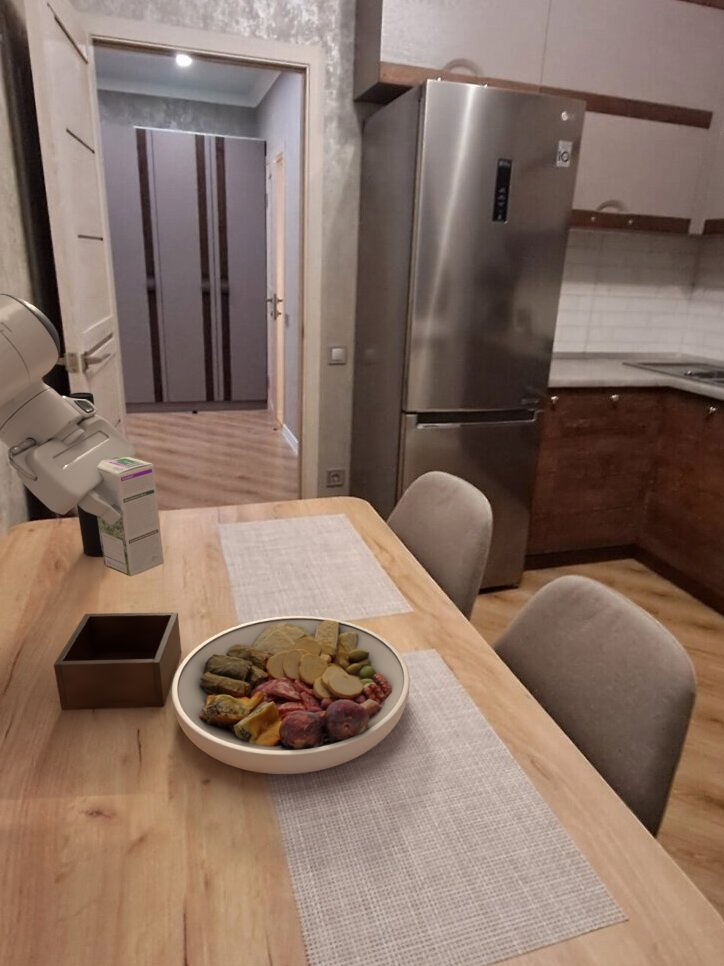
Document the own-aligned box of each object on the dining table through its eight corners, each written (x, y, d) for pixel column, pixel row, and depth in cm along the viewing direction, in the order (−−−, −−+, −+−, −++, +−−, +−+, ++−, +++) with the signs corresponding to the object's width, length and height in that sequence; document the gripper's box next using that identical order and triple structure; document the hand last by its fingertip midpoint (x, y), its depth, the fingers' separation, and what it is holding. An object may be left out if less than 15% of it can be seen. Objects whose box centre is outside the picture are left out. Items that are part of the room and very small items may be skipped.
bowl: (138, 690, 89) (132, 639, 86) (324, 624, 107) (325, 580, 104) (245, 833, 68) (242, 773, 65) (454, 721, 87) (460, 670, 83)
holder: (61, 709, 85) (53, 664, 82) (91, 654, 96) (85, 613, 94) (164, 706, 86) (159, 662, 84) (181, 652, 98) (177, 612, 95)
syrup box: (165, 563, 92) (156, 461, 86) (129, 578, 87) (116, 472, 81) (138, 552, 94) (127, 453, 89) (101, 566, 90) (87, 463, 84)
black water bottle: (89, 559, 125) (66, 399, 113) (79, 547, 129) (56, 392, 117) (124, 551, 128) (105, 396, 117) (113, 540, 133) (94, 389, 121)
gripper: (16, 434, 73) (116, 521, 77) (94, 397, 92) (171, 469, 96) (-17, 471, 75) (82, 554, 79) (66, 427, 94) (143, 497, 97)
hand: (131, 507), depth 87 cm, fingers closed on syrup box, 7 cm apart
